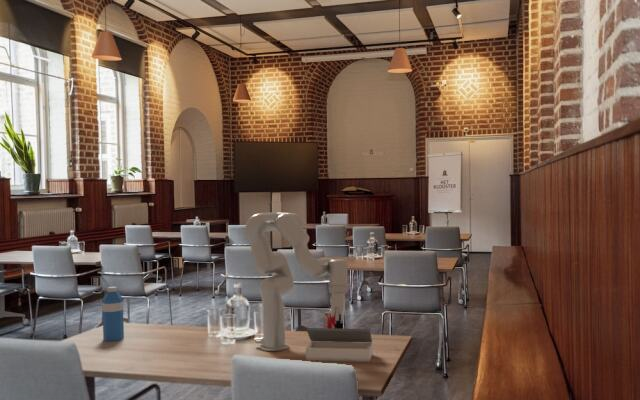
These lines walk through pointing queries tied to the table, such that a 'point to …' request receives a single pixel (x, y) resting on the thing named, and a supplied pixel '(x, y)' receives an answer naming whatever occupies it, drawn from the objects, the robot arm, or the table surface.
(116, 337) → the water bottle
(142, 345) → the table surface
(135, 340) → the table surface
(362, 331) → the lid
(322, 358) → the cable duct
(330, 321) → the soda can
